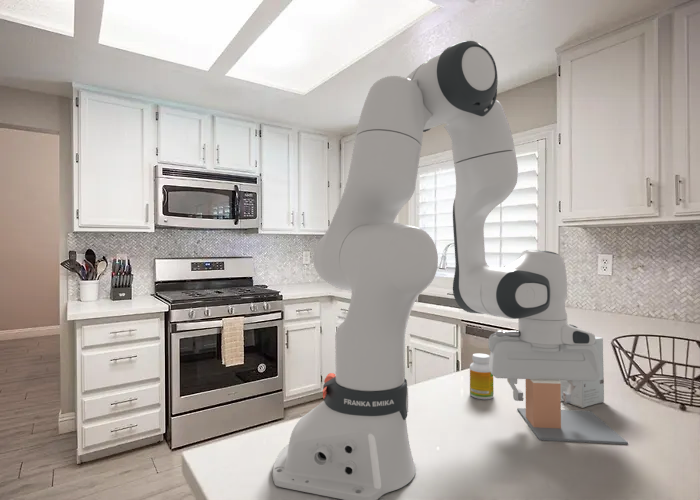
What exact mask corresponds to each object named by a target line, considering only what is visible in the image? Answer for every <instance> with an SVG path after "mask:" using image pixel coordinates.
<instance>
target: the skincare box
mask: <svg viewBox="0 0 700 500" xmlns="http://www.w3.org/2000/svg"><path fill="white" fill-rule="evenodd" d="M592 345H593V346H594V347H595V348H596V349H597V351H598V354H599V360H600V377H599V378H598V380H597V381H580V387H579V388H578V390H577V391H576V393H575V394H574V402H573V403H569V404H571V405H573V406H576V407H578V408H581V409H584V408H587V407H590V406H593V405H598V404H601V403H604V402H605V383H604V382H605V381H604V379H605V378H604V377H605V376H604V375H605V373H604V338H603V337H601V336H600V337H599V336H595V343H594V344H592ZM559 381H560V382H561V401H562V402H564V401H563V399H562V397H563V395H562V391H567V389H568V388H569V386H570V383H569V382H568V380H559Z"/></svg>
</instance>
